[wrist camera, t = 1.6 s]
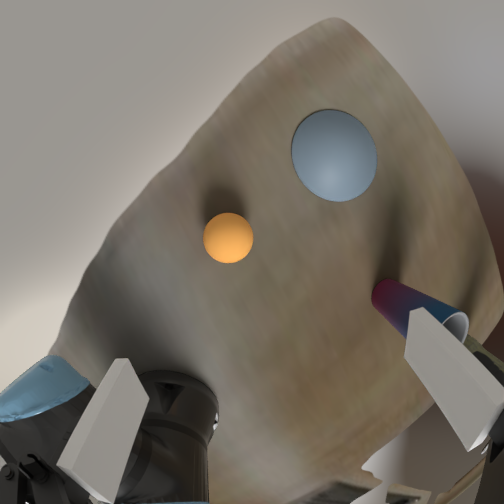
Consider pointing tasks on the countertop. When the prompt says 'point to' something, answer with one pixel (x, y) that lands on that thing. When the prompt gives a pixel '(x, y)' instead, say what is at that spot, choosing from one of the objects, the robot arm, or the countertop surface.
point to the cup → (407, 299)
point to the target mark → (334, 155)
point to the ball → (228, 237)
